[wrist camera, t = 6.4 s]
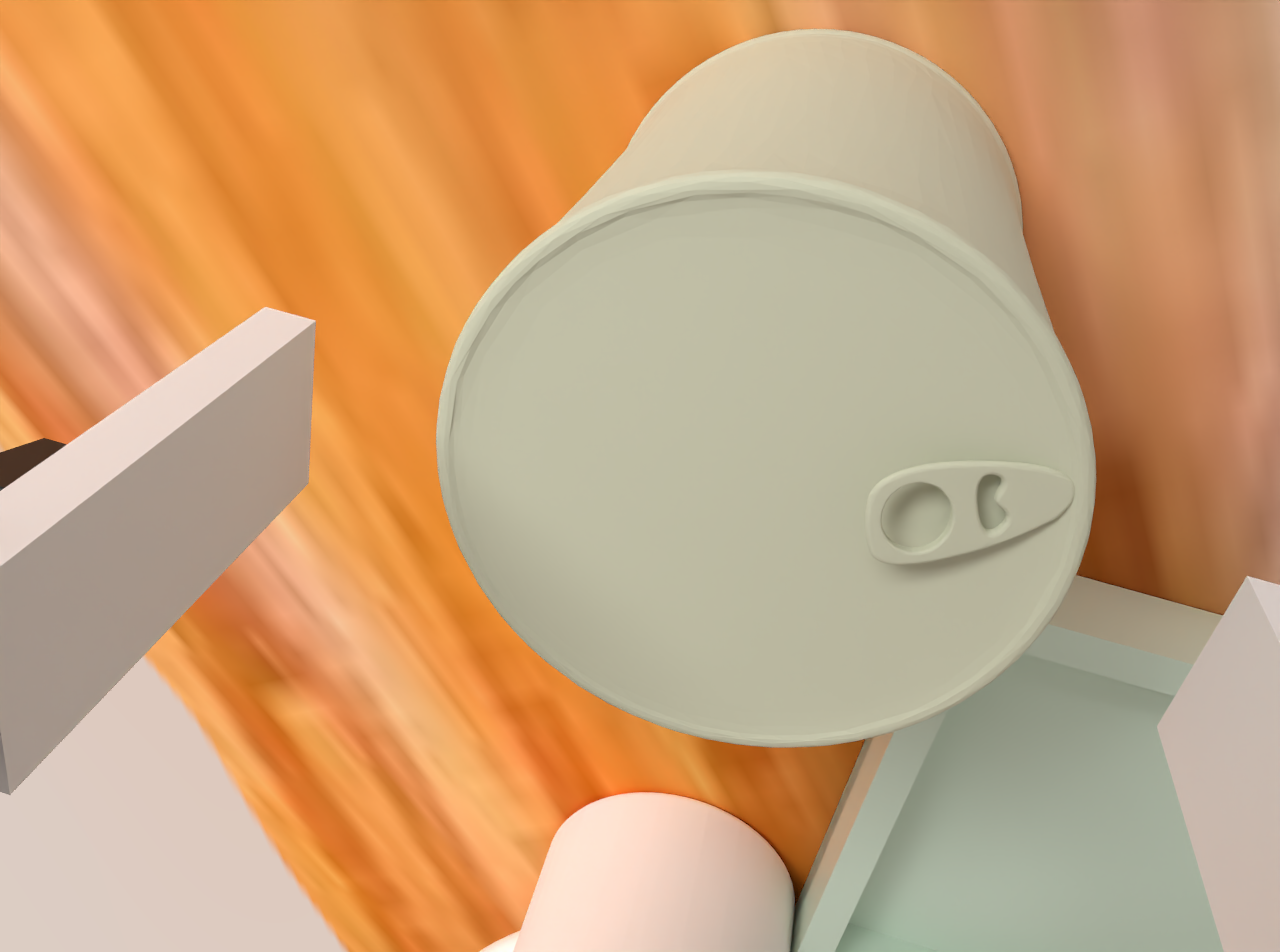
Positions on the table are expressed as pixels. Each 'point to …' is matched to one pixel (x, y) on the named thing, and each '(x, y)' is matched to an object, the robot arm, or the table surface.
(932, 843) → the tray
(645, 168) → the can
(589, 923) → the mug
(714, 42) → the table surface
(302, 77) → the table surface
